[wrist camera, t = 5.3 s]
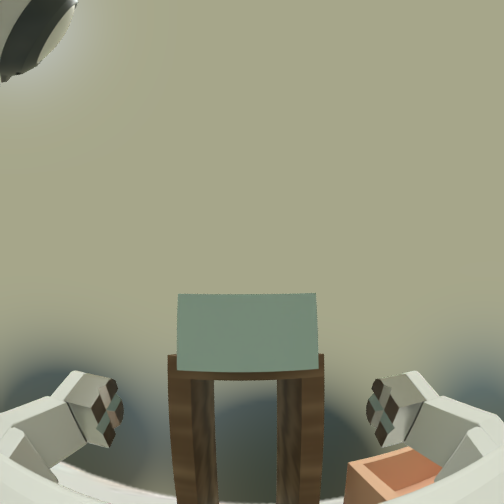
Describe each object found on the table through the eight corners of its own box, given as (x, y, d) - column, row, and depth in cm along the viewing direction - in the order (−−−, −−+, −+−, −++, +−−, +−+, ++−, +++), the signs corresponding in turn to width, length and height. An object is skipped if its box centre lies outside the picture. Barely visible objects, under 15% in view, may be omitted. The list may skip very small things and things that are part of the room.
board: (318, 368, 8) (315, 293, 9) (177, 369, 8) (177, 293, 9) (265, 350, 30) (264, 328, 31) (224, 350, 30) (224, 329, 31)
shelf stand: (305, 592, 9) (323, 354, 17) (196, 594, 9) (167, 355, 17) (287, 528, 22) (289, 349, 30) (209, 529, 22) (200, 350, 30)
